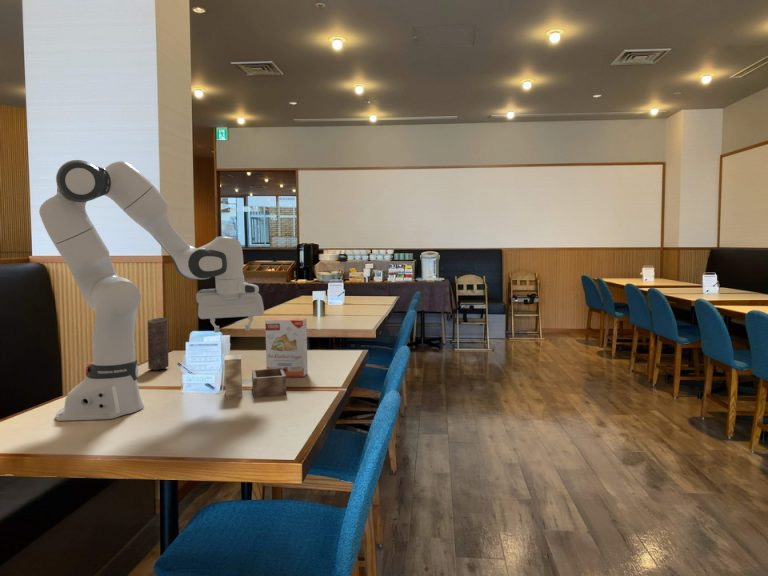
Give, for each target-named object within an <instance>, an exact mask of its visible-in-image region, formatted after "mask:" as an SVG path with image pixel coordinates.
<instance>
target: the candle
mask: <svg viewBox="0 0 768 576" xmlns="http://www.w3.org/2000/svg"><path fill="white" fill-rule="evenodd" d="M168 331H169V330H168V318H166V317H155V318H152V319H148V320H147V350H148V351H147V360H148V362H147V364H148V367H147V368H148V369H149V370H152V371H160V370H164V369H166V368H168V367H169V364H170V363H169V337H168V336H169V335H168Z"/></svg>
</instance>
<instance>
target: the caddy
mask: <svg viewBox="0 0 768 576" xmlns="http://www.w3.org/2000/svg"><path fill="white" fill-rule="evenodd" d="M251 382H252V384H251V385H252V388H251V389H252V394H253V398H265V397H276V396H286V395H287V377H286V375H285V373H284V371H283V369H282V368H273V369H267V368H262V369H261V368H260V369H252V370H251Z"/></svg>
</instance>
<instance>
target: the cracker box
mask: <svg viewBox="0 0 768 576" xmlns="http://www.w3.org/2000/svg"><path fill="white" fill-rule="evenodd" d="M307 327H308V326H307V318H295V317H294V318H290V317H289V318H288V317H287V318H286V317H285V318H284V317H283V318H282V317H280V318H278V317H277V318H273V317H271V318H268V319H266V320H265V354H266V355H265V359H266V361H265V363H266V366H265V367H266V369H273V368H282V369H283V371H284V373H285V375H286V378H304V377H305V376H307V375H308V370H309V369H308V336H307V335H308V333H307V332H308V331H307V330H308V329H307Z"/></svg>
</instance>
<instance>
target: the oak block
mask: <svg viewBox="0 0 768 576" xmlns="http://www.w3.org/2000/svg"><path fill="white" fill-rule="evenodd" d="M242 372H243V371H242V354H240V353H239V354H227V355H224V379H225V380H224V381H225V382H224V383H225V385H224V387H225V398H226V399H228V398H240V397H242V398H243V379H242V376H243V375H242V374H243V373H242Z"/></svg>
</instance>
